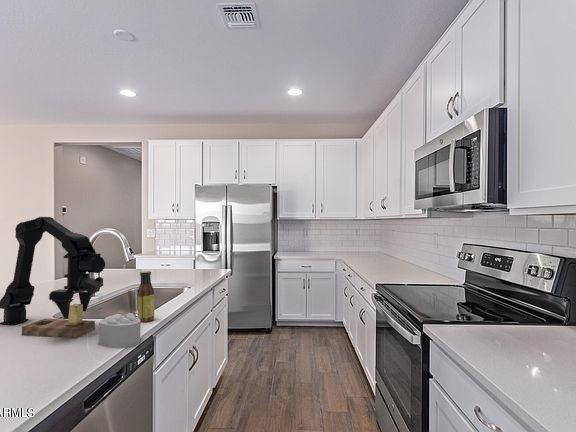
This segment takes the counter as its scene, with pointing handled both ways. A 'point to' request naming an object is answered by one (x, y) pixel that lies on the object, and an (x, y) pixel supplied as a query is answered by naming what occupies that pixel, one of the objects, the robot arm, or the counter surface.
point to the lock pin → (75, 315)
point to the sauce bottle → (145, 298)
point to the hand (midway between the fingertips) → (75, 314)
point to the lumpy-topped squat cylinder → (119, 331)
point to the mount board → (57, 328)
